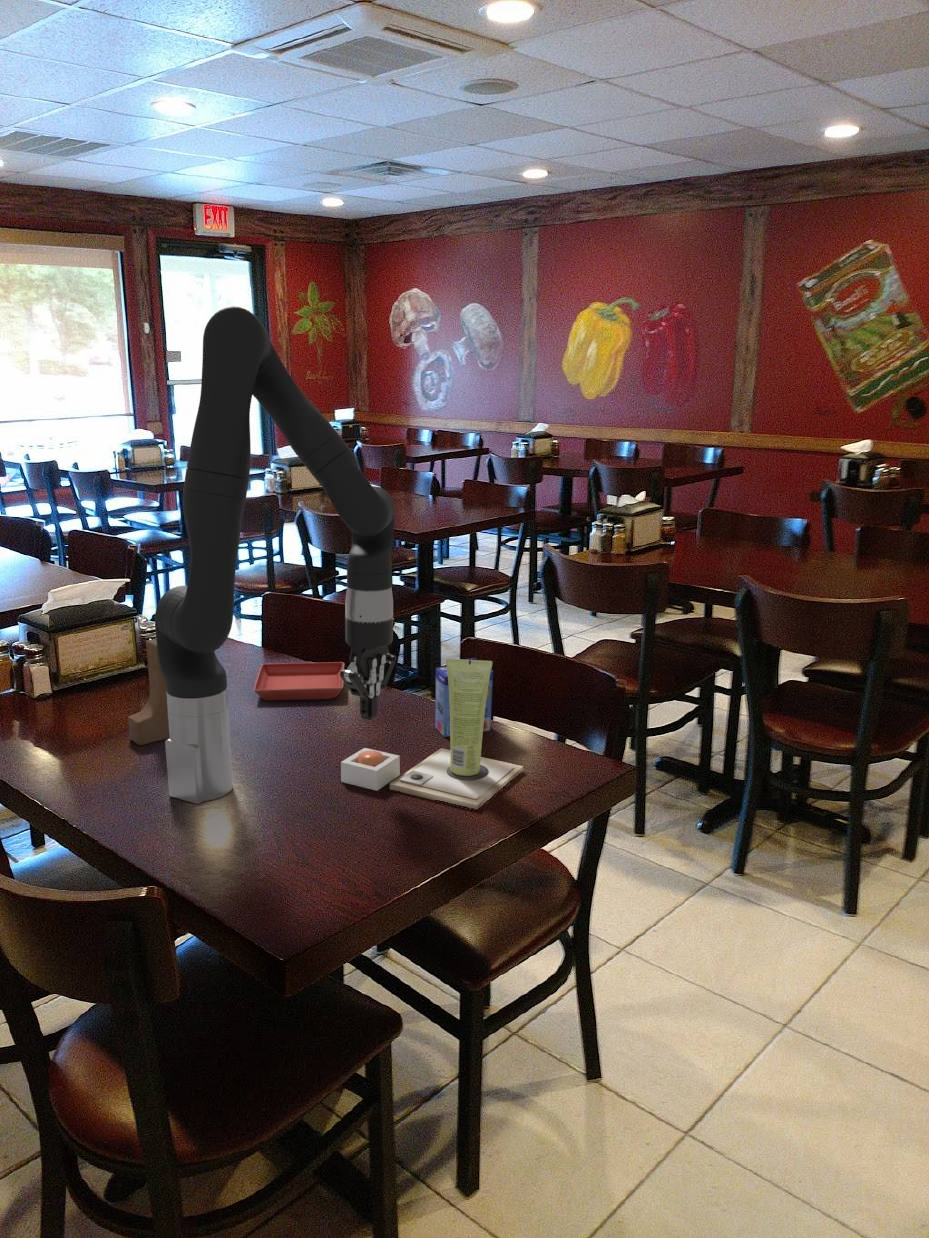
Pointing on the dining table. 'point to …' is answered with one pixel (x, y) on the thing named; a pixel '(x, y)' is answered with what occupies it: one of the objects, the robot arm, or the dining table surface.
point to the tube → (467, 712)
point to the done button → (370, 758)
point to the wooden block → (152, 705)
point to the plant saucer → (299, 681)
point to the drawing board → (455, 780)
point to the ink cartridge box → (444, 704)
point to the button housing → (370, 771)
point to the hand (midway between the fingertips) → (368, 717)
